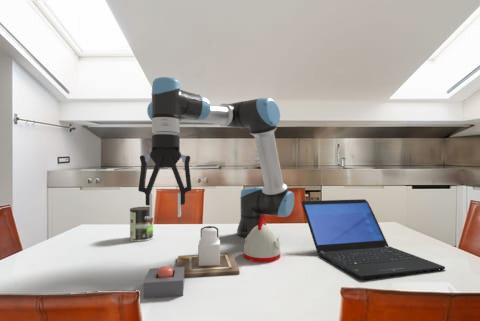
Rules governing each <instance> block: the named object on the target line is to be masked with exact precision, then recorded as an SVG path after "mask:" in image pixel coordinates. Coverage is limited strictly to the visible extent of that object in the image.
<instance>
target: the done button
mask: <svg viewBox="0 0 480 321" xmlns="http://www.w3.org/2000/svg"><path fill="white" fill-rule="evenodd" d="M158 268H159V269H158V278H167V277H173V266H169V265H165V266H161V267H158Z"/></svg>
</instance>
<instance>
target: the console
mask: <svg viewBox="0 0 480 321" xmlns="http://www.w3.org/2000/svg"><path fill="white" fill-rule="evenodd" d="M172 267H173V266H172ZM159 268H160V267H156V268H155V267H153V268H149V270H148V272H147V274H146V277H145V279H144V281H143V299H154V298H155V299H156V298H168V297H169V298H171V297H182V296H184V290H185V277H184V267H176V266H174V267H173V277H167V278H158V269H159Z"/></svg>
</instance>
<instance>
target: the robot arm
mask: <svg viewBox="0 0 480 321" xmlns="http://www.w3.org/2000/svg"><path fill="white" fill-rule="evenodd" d="M146 111H147V116H148V118H149V119H150V120H151V133H153V134H152V135H151V152H150V153H149V154H145V155H140V156H139V161H140V163H141V164H140V174H139V181H138V192H140V193H141V192H142V193H144V194H145V206H149V207H150V218H153V219H154V217H155V208H154V207H155V193H154V192H152V191H153V187H154V185H155V182H156V180H157V177H158V174H159V172H160V170H161V169H163V168H168V169H171V170H172V173H173V175H174V178H175V182H176V184H177V186H178V188H179V192H178V193H177V218H181V217H182V205H183V206H184V205H185V203H186V193H187V192H190V191H192V182H191V171H190V161H191V157H190V155H186V154H185V155H184V154H182V152H181V151H180V143H181V142H180V139H181V138H180V135H178V134H180V133H181V131H180V129H181V128H180V126H181V124H180V123H192V124H193V123H194V124H196V123H197V124H217V125H219V126H220V127H226V128H228V127H229V128H238V129H248V130H249V133H250V135H252V136H253V137H254V141H255V146H256V152H257V155H258V156H257V157H258V162H259V165H260V166H259V167H260V171H261V172H260V173H261V176H262V180H263V185H264V186H256V187H254V186H253V187H245V188H242V189H241V191H240V197H239V198H240V219H239V222H238V226H237V229H236V235H237V236H238V237H240V238H244V239H245V238H246V237H247V236H248V235H249V233H250V232H251V230H252V229H253V228H254V227H256V226H257V225H258V224H259V220H260V217H261V216H265V215H266V216H274V217H279V218H281V217H284V218H287V217H288V216H290V215H291V214H292V212H293V210H294V206H295V194H294V193H293V191H290V190H289V189H288V185H287V184H285V183H284V180H283V175H282V170H281V165H280V157H279V153H278V152H279V151H278V148H277V143H276V142H277V141H276V135H275V132H276V130H277V129H278V128H277V126H278V125H279V123H280V120H281V119H280V118H281V113H280V112H281V111H280V108H279V106H278V104H277V102H276V101H275V100H273V99H272V98H271V97H264V98H263V97H261V98H255V99H250V100H244V101H243V100H242V101H239V102H234V103H221V104H211V102H210V100H209V99H208V98H207V97H205V96H203V95H201V94H196V93H192V92H188V91H185V90H182V89H181V85H180V81H179V80H178V79H176V78H174V77H168V76H166V77H165V76H163V77H156V78H154V80H153V81H152V86H151V102H150V103H149V104H148V106H147V109H146ZM150 159H151V160H152V161H153V163H154V167H153V170H152V173H151V175H150V178H149V181H148V183H147V186H146V180H147V171H148V163H149V162H150ZM180 159H181V161H182V163H184V175H185V182H186V187H185V186H184V183H183V180H182V178H181V174H180V173H179V169H178V167H177V163H178V162H179V160H180ZM265 225H266V226H267V223H266V221H265Z"/></svg>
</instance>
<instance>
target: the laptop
mask: <svg viewBox="0 0 480 321" xmlns="http://www.w3.org/2000/svg"><path fill="white" fill-rule="evenodd" d="M301 205H302V208H303V211H304V214H305V215H304V216H305V217H306V218H305V219H306V220H307V221H306V222H307V225H308V227H309V230H310V234H311V237H312V240H313V244H314V246H315V250H316V253H318V255H319V256H320V257H321V258H323V259H324V260H326V261H327V262H330V263H332V264H333V265H335V266H337V267H339V268H340V269H342V270H344V271H346V272H347V273H349V274H351V275H353V276H355V277H357V278H358V279H359V280H361V279H362V280H363V281H364V280H369V278H371V279H376V277H377V278H384V277H383V276H386V277H392V276H391V275H395V276H400V275H399V274H403V275H408V274H407V273H411V274H415V273H414V272H420V273H422V272H421V271H428V272H431V271H430V270H436V271H440V270H439V269H443V270H445V269H446V267H445V265H441V264H439V263H436V262H433V261H431V260H428V259H425V258H422V257H420V256H417V255H414V254H412V253H408V252H406V251H403V250H400V249H397V248H394V247H392V246H389V244H388V242H387V239H386V237H385V235H384V233H383V231H382V228H381V227H380V224H379V221H378V220H377V218H376V216H375V214H374V211H373V210H372V207H371V206H370V204H369V201H368V200H366V199H365V198H364V199H363V198H362V199H333V200H332V199H331V200H330V199H329V200H328V199H327V200H302V201H301Z"/></svg>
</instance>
